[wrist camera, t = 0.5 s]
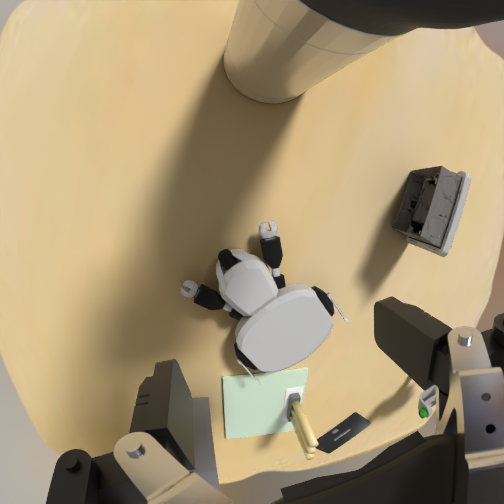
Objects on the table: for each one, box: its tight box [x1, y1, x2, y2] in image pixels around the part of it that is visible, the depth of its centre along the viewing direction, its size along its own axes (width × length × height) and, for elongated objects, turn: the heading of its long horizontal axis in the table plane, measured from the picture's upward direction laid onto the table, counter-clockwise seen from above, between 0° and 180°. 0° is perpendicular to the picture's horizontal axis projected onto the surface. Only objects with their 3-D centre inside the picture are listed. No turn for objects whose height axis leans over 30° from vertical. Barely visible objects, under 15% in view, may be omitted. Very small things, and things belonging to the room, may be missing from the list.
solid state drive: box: [315, 412, 371, 453], centre depth 42 cm, size 7×10×1 cm
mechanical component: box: [418, 385, 437, 418], centre depth 36 cm, size 3×10×10 cm, turn 108°
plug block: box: [188, 398, 220, 491], centre depth 28 cm, size 6×5×12 cm
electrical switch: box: [393, 166, 471, 257], centre depth 27 cm, size 9×5×9 cm, turn 160°
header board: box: [223, 367, 319, 460], centre depth 31 cm, size 13×11×10 cm
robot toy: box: [180, 221, 349, 385], centre depth 29 cm, size 12×4×15 cm
